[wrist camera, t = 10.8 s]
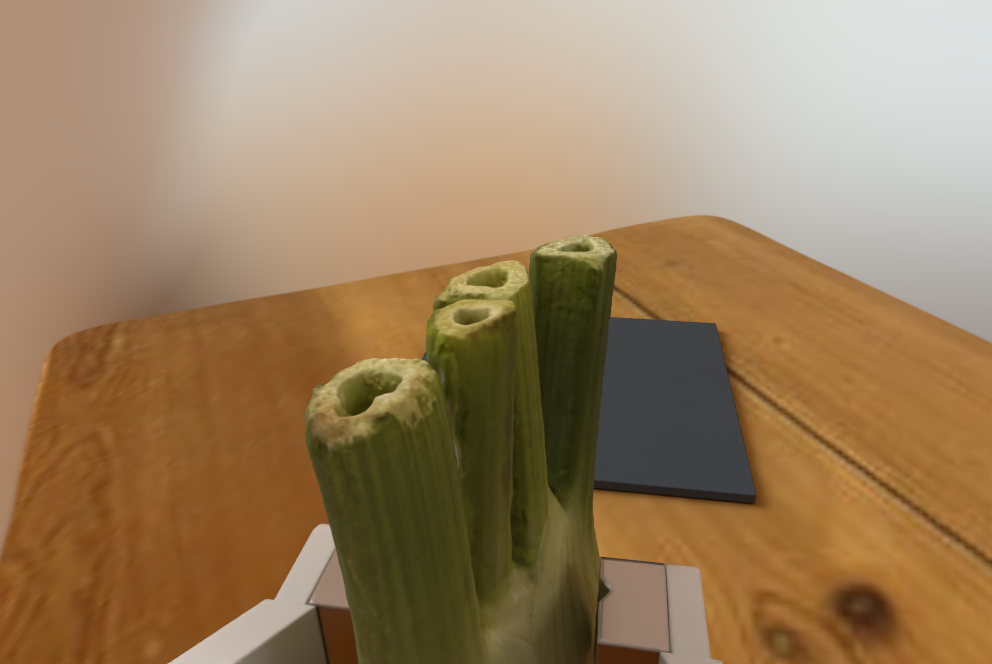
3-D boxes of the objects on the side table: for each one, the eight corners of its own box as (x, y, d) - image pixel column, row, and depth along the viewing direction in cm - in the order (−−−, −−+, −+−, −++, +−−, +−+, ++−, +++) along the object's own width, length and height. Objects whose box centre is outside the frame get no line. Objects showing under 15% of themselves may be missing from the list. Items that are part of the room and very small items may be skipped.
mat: (372, 467, 27) (371, 458, 26) (448, 313, 38) (447, 307, 38) (755, 504, 25) (756, 495, 24) (714, 330, 36) (715, 323, 36)
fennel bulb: (550, 678, 17) (570, 192, 11) (701, 882, 13) (847, 306, 7) (316, 815, 14) (185, 269, 8) (423, 1118, 10) (318, 508, 5)
